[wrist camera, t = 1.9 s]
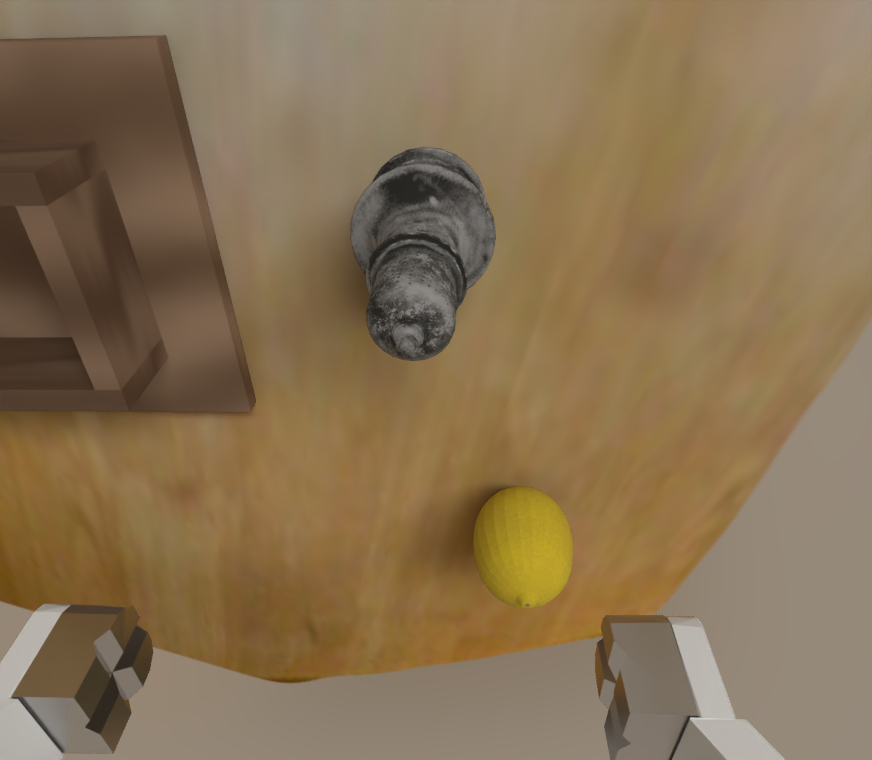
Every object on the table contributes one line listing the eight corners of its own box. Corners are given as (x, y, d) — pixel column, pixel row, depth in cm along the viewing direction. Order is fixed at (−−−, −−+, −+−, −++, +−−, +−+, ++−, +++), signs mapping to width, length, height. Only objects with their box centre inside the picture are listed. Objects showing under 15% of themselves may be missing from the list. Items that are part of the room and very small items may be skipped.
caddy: (-270, 45, 25) (-433, 68, 20) (166, 35, 24) (97, 56, 19) (-53, 399, 35) (-128, 465, 31) (255, 400, 34) (224, 469, 30)
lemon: (500, 446, 36) (508, 558, 29) (580, 478, 37) (605, 592, 30) (457, 504, 39) (455, 617, 32) (532, 532, 40) (545, 646, 33)
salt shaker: (431, 290, 30) (415, 458, 20) (335, 210, 28) (266, 354, 18) (519, 204, 27) (550, 350, 18) (421, 108, 25) (393, 213, 15)
